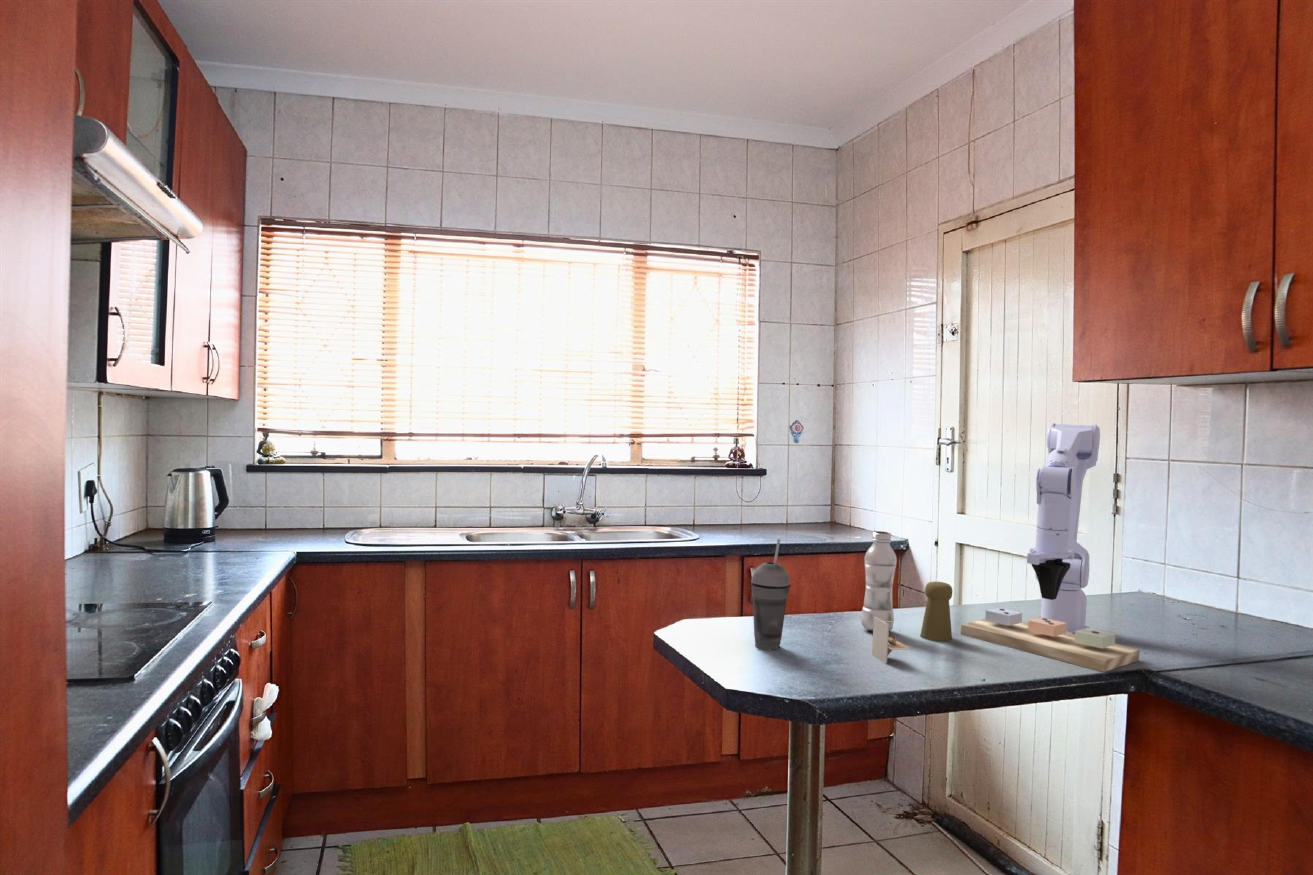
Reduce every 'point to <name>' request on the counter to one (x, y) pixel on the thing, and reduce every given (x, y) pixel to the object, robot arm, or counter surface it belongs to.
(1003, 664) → the counter surface
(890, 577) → the plastic bottle
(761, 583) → the beverage cup
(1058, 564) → the robot arm
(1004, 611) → the tile two
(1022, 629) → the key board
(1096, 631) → the tile one
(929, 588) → the cork
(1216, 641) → the counter surface
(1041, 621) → the tile three
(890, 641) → the architectural model
